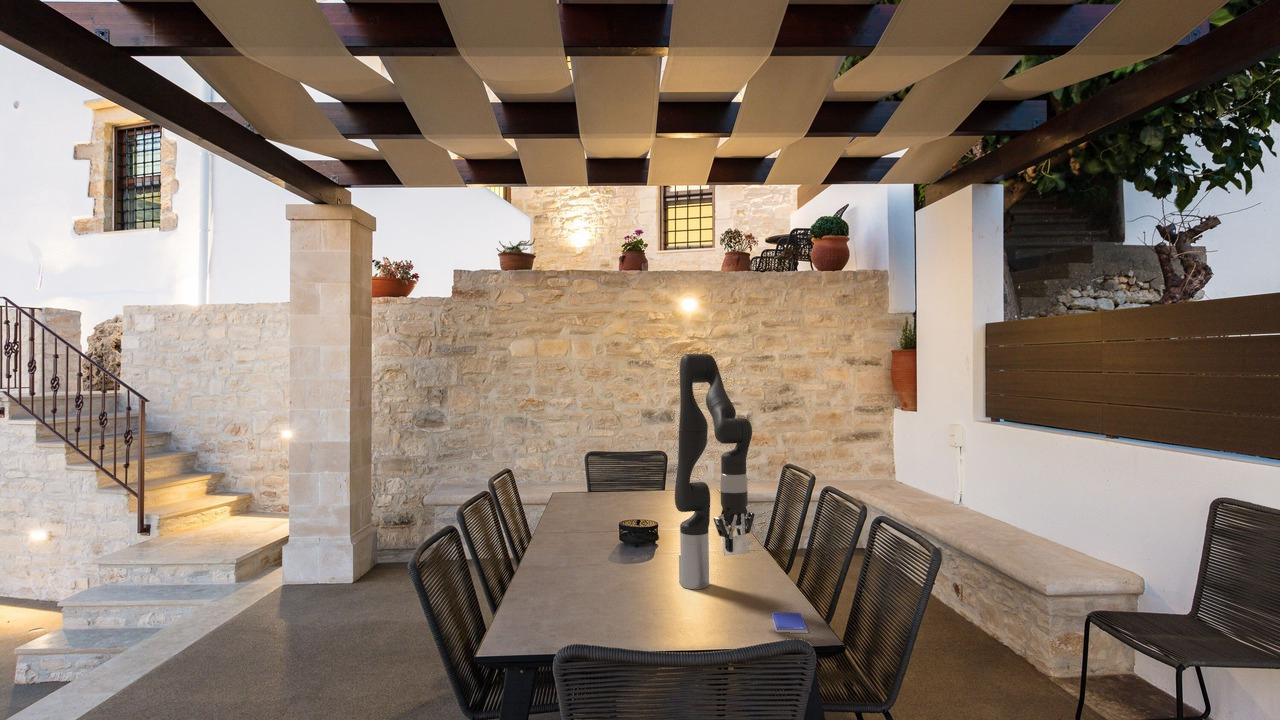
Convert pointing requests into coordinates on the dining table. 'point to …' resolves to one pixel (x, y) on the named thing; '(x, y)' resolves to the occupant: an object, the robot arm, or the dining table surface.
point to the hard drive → (789, 622)
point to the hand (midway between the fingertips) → (734, 550)
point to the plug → (737, 545)
